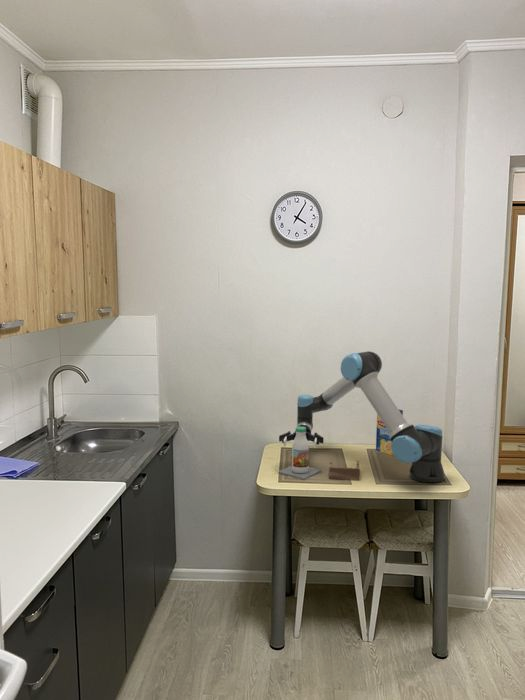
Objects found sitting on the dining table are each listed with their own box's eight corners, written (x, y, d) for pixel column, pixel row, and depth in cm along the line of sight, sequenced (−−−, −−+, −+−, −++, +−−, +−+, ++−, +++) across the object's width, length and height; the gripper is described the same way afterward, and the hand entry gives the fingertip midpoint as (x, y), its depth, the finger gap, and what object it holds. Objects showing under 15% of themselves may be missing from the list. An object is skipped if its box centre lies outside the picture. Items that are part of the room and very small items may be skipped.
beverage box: (384, 448, 300) (385, 406, 297) (401, 453, 291) (403, 410, 288) (375, 450, 295) (377, 408, 293) (392, 455, 287) (394, 412, 284)
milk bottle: (288, 470, 260) (288, 427, 258) (300, 467, 266) (300, 424, 263) (300, 475, 255) (301, 430, 252) (312, 471, 260) (313, 427, 258)
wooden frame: (329, 469, 264) (330, 459, 264) (358, 471, 263) (358, 460, 262) (329, 478, 253) (329, 467, 252) (359, 480, 251) (359, 469, 250)
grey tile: (321, 471, 262) (321, 470, 262) (304, 479, 251) (304, 478, 251) (296, 465, 270) (296, 463, 270) (278, 473, 260) (278, 471, 259)
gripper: (329, 440, 275) (328, 453, 255) (277, 438, 279) (271, 451, 258) (329, 425, 274) (328, 437, 254) (277, 423, 278) (271, 434, 257)
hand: (299, 444), depth 256 cm, fingers open, 13 cm apart
